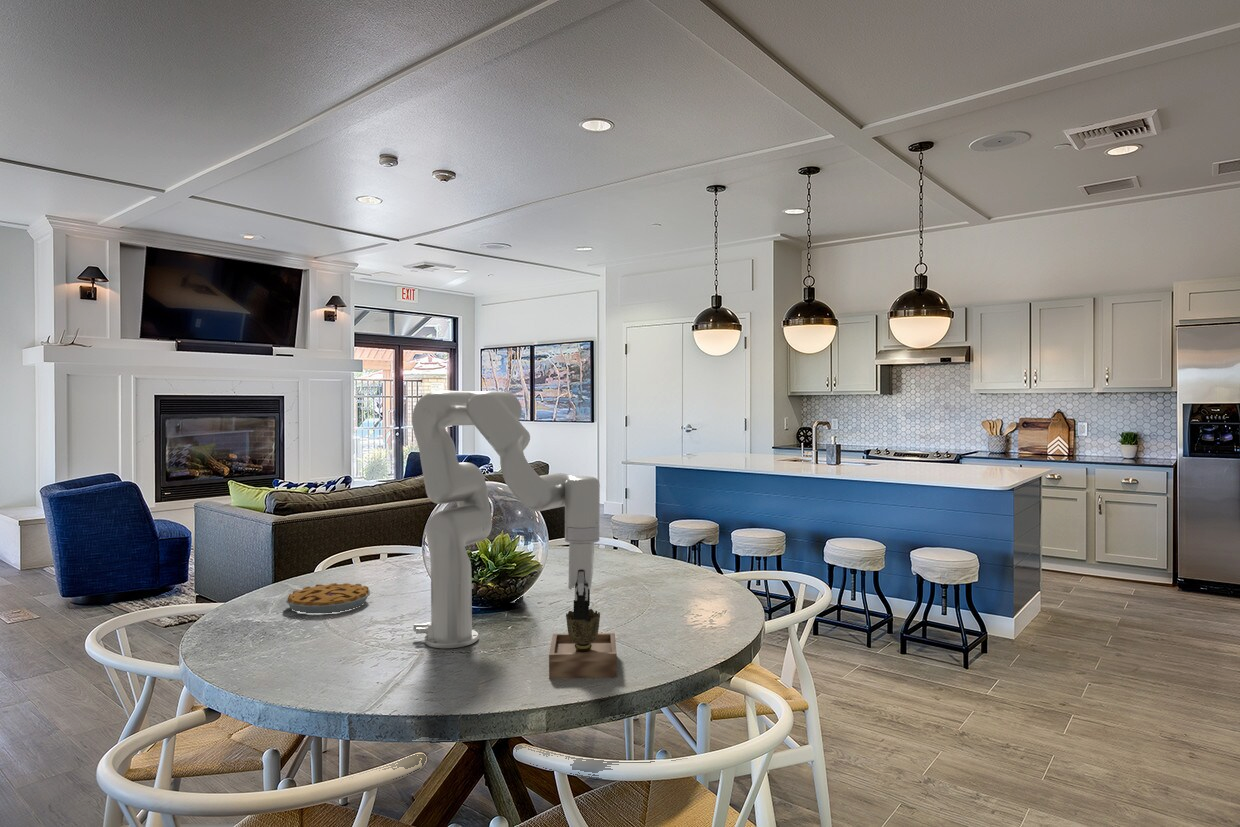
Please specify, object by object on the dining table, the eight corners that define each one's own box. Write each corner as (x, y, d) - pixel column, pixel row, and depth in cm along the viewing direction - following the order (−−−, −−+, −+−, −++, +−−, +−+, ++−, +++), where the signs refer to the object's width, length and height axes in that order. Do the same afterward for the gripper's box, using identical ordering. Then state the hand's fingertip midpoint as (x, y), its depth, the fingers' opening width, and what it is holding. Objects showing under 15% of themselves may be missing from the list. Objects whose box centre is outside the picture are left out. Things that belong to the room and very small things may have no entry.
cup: (569, 657, 155) (569, 619, 155) (563, 645, 162) (563, 609, 162) (603, 654, 157) (603, 616, 156) (596, 642, 164) (596, 607, 164)
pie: (268, 615, 200) (268, 597, 199) (319, 594, 221) (319, 578, 221) (339, 620, 194) (339, 601, 194) (385, 599, 216) (384, 582, 216)
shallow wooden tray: (549, 681, 152) (548, 654, 152) (552, 657, 166) (552, 633, 166) (616, 680, 152) (616, 653, 152) (614, 656, 166) (614, 632, 166)
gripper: (566, 526, 168) (566, 601, 168) (562, 541, 150) (562, 624, 151) (599, 526, 168) (599, 601, 168) (599, 541, 150) (599, 624, 151)
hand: (581, 612), depth 159 cm, fingers open, 9 cm apart
